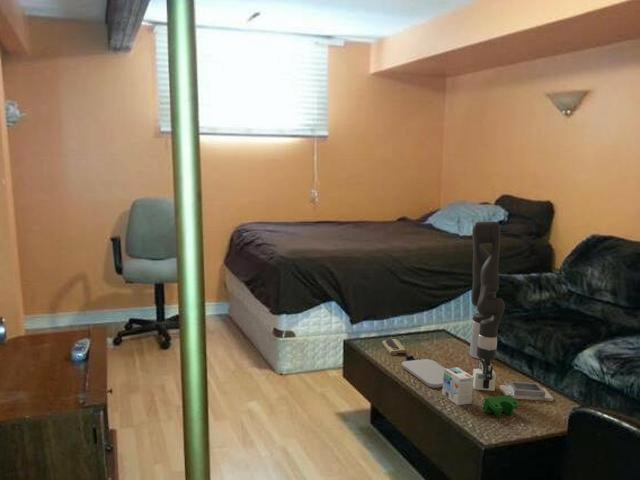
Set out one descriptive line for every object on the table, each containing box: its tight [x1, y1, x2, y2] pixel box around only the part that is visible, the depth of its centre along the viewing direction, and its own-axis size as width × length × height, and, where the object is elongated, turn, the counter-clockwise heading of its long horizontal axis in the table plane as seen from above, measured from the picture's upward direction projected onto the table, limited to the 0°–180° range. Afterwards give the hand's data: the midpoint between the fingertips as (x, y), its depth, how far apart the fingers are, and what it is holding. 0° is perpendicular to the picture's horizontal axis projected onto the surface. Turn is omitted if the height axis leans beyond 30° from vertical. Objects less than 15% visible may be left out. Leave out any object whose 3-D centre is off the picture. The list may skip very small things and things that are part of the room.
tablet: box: [401, 358, 447, 389], centre depth 237 cm, size 16×26×2 cm, turn 21°
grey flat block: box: [499, 380, 554, 402], centre depth 222 cm, size 10×18×3 cm, turn 87°
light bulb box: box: [441, 366, 474, 406], centre depth 214 cm, size 11×7×11 cm, turn 22°
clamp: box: [482, 395, 520, 419], centre depth 203 cm, size 12×6×9 cm, turn 105°
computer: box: [381, 338, 408, 356], centre depth 268 cm, size 16×8×3 cm, turn 8°
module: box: [472, 368, 497, 392], centre depth 226 cm, size 5×8×7 cm, turn 87°
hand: (483, 384), depth 227 cm, fingers open, 7 cm apart
